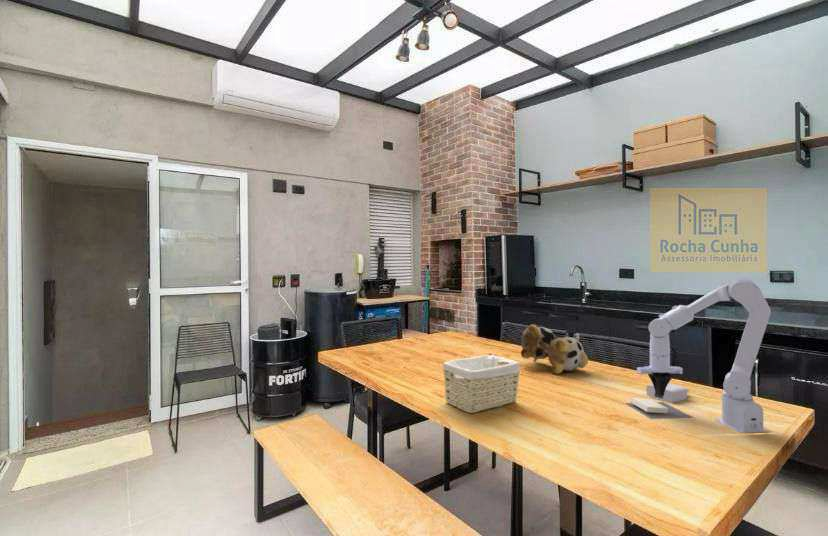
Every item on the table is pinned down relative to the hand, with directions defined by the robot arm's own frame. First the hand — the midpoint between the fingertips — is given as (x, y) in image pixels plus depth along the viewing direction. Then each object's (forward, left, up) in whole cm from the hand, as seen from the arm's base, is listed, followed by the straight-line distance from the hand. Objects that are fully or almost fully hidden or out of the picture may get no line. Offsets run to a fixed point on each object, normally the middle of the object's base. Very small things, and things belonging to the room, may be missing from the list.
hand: (659, 395), depth 133 cm
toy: (+55, +14, -5) cm, 57 cm away
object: (+11, +58, -5) cm, 59 cm away
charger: (+12, -13, -5) cm, 18 cm away
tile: (0, 0, -4) cm, 4 cm away
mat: (-1, +2, -5) cm, 5 cm away
